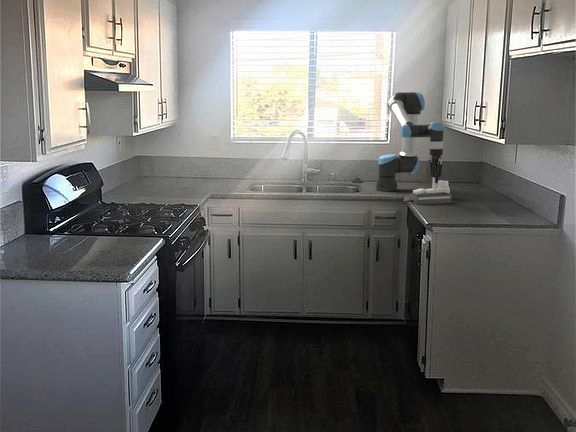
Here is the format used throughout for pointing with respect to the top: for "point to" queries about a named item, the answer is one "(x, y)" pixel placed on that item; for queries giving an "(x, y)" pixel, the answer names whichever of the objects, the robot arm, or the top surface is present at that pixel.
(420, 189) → the rocker
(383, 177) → the robot arm
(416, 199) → the power strip
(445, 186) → the mug
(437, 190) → the rocker
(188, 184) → the top surface
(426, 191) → the rocker
